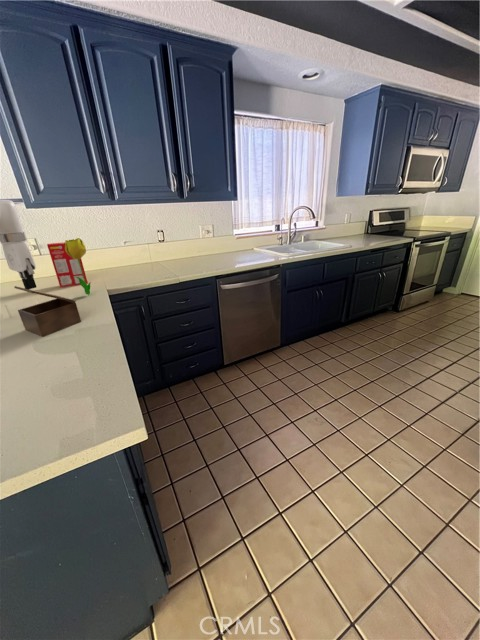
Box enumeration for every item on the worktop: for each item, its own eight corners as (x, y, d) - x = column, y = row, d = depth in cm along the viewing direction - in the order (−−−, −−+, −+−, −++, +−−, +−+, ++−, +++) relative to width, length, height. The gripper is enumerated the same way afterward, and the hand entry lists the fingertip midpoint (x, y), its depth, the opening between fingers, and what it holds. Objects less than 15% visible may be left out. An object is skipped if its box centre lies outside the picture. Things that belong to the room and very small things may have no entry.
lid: (31, 292, 95) (32, 290, 95) (14, 288, 101) (14, 286, 101) (75, 302, 110) (75, 300, 110) (57, 297, 115) (58, 296, 115)
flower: (90, 292, 150) (76, 237, 137) (100, 294, 146) (86, 238, 134) (76, 296, 143) (59, 239, 131) (85, 299, 140) (69, 240, 127)
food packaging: (87, 281, 170) (76, 241, 160) (87, 283, 166) (77, 242, 156) (60, 285, 163) (47, 243, 152) (60, 287, 159) (47, 244, 148)
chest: (42, 337, 101) (34, 316, 97) (25, 330, 107) (17, 310, 103) (81, 321, 114) (75, 302, 110) (64, 316, 119) (58, 297, 115)
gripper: (-10, 238, 93) (9, 288, 101) (10, 240, 86) (30, 294, 94) (14, 235, 99) (31, 283, 106) (36, 237, 92) (52, 288, 100)
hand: (31, 288), depth 100 cm, fingers closed
